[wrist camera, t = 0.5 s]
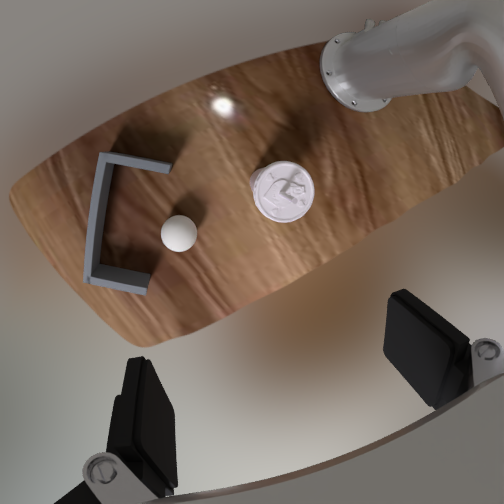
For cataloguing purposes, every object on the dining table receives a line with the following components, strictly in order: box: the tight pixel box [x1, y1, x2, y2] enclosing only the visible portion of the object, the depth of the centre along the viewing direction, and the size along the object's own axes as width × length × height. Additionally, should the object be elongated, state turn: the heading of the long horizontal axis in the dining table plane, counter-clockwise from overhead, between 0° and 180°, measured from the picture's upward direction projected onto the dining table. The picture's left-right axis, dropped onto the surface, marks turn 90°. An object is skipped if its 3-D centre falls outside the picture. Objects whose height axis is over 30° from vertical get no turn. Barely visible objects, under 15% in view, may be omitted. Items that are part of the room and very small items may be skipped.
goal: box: [83, 152, 173, 295], centre depth 35 cm, size 16×8×4 cm, turn 165°
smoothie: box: [250, 161, 314, 222], centre depth 33 cm, size 6×6×14 cm
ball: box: [161, 215, 197, 252], centre depth 37 cm, size 4×4×4 cm
